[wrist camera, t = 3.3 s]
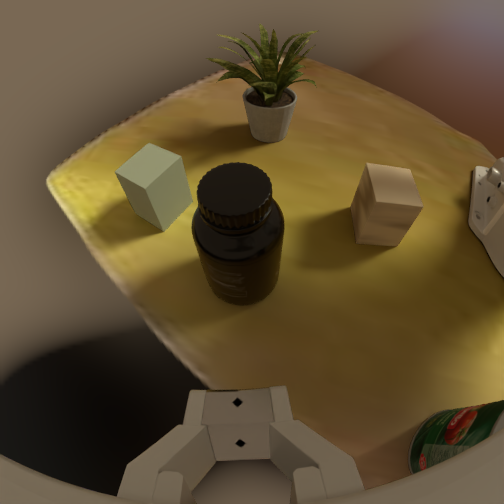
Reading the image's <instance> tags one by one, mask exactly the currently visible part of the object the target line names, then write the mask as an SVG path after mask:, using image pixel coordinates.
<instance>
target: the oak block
mask: <svg viewBox="0 0 504 504" xmlns="http://www.w3.org/2000/svg"><path fill="white" fill-rule="evenodd" d="M422 208H423V204H422V201H421V198H420V195H419V192H418V190H417V187H416V184H415V181H414V179H413V176H412V174H411V171H410V169H405V168H399V167H392V166H385V165H378V164H370V163H366V165H365V168H364V171H363V174H362V177H361V180H360V182H359V185H358V188H357V191H356V193H355V196H354V199H353V201H352V204H351V214H352V220H353V226H354V233H355V240H356V244H368V245H385V246H398V244H399V243H400V242H401V240H402V239H403V237H404V236H405V234H406V233H407V231H408V230H409V228H410V227H411V225H412V224H413V222H414V221H415V219H416V218H417V216H418V215H419V213H420V212H421V210H422Z"/></svg>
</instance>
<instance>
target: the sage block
mask: <svg viewBox="0 0 504 504" xmlns="http://www.w3.org/2000/svg"><path fill="white" fill-rule="evenodd" d="M115 173H116V176H117V178H118V180H119V182H120V184H121V186H122V188H123V190H124V192H125V194H126V196H127V198H128V200H129V202H130V204H131V206H132V208H133V210H134V211H135V213H136V214H137V215H139V216H140V217H142V218H143V219H145V220H146V221H148V222H150V223H151V224H153V225H154V226H156V227H157V228H159V229H160V230H162V231H163V232H164V231H165V230H166V229H167V228H168V227H169V226H170V225H171V224H172V223H173V222H174V221H175V220H176V219H177V218H178V217H179V216H180V215H181V213H182V212H183V211H184V210H185V209H186V208H187V207H188V206H189V205H190V204H191V203H192V202H193V199H192V196H191V192H190V188H189V184H188V180H187V177H186V173H185V169H184V165H183V161H182V157H181V156H179V155H177V154H175V153H172V152H170V151H168V150H165V149H163V148H160V147H158V146H155V145H153V144H151V143H148V144H147V145H146V146H144V147H143V148H142V149H141V150H139V151H138V152H137V153H136V154H135V155H133V156H132V157H131V158H130V159H129V160H128V161H126V162H125V163H124V164H123V165H122V166H121V167H120V168H118V169H117V170H116V171H115Z"/></svg>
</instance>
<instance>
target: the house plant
mask: <svg viewBox="0 0 504 504" xmlns="http://www.w3.org/2000/svg"><path fill="white" fill-rule="evenodd" d="M259 26H260V34H261V47H262V48H261V47H260V46H259V45H258V43H257V42H256V41H255V40H253V39H252V38H250V37H249V36H247V35H246V34H244V33H243V34H244V35H245V36H247V37H248V38H249V39H250V40H251V41H252V42H253V43H254V45H255V46H256V47H257V49H258V50H259V52H260V58H259V57H258V55H257V54H256V53H255V52H254V50H253V49H252V48H251V47H250V46H249V45H248V44H246V43H245V42H243V41H242V40H240V39H237V38H234V37H230V36H225V35H219V36H223V37H227V38H230V39H232V40H234V41H236V42H238V43H240V44H241V45H243V46H244V47H245V48H246V49H247V50H248V52H249V53H250V54H251V55H252V56H253V57H254V58H255V59H256V60H254V61H253V60H252V58H251V57H250V55H249V54H248V52H247V51H246V50H245V48H243V46H241V45H240V44H238V43H236V42H234V43H236V44H238V45H239V46H240V47H242V48H243V49H244V51H245V52H246V54H247V55H248V57H249V58H250V59H251V61H252V62H250V63H253V64H254V66H255V67H256V69H257V70H256V69H255V68H254V67H253V68H254V69H255V70H256V72H257V71H258V72H257V73H258V74H259V75H260V77H261V78H262V80H261V79H260V78H259V77H258V76H256V75H255V74H254V73H252V72H251V71H250V70H248V69H246V68H244V67H241V66H239V65H236V64H234V63H231V62H228V61H225V60H221V59H213V58H207V59H209V60H210V61H212V62H215V63H218V64H220V65H221V66H223V67H224V68H225V69H227V70H229V72H227V73H225V74H223V75H224V76H222V77H221V78H220V79H219V80H218V81H220V80H224V79H228V78H241V79H243V80H244V81H246V82H247V83H248V84H249V85H250V86H251V88H249V89H247V90H246V91H245V92H244V94H243V101H244V105H245V109H246V113H247V117H248V122H249V126H250V130H251V134H252V136H253V137H254V138H255V139H257V140H259V141H262V142H268V143H271V142H278V141H280V140H283V139H284V138H285V136H286V134H287V131H288V128H289V124H290V121H291V118H292V114H293V111H294V108H295V104H296V101H297V96H296V94H295V92H293V91H292V90H291V89H289V88H287V87H288V86H289V85H290V84H292V83H294V82H299V81H307V82H311V83H312V84H314V85H315V86H316V84H315V82H314V81H312V80H309V79H304V80H298V81H293V80H295V79H296V78H298V77H300V76H301V75H303V74H304V73H301V72H298V71H296V70H298V69H300V68H302V67H305V66H302V65H299V64H298V63H299V62H300V60H302V59H305V58H306V57H304V56H305V55H306V54H307V53H308V51H309V50H310V49H311V48H310V49H309V50H307V51H306V52H305V54H303V55H302V56H301V57H300V58H299V59H297V60H295V61H294V62H292V61H293V59H294V58H295V56H296V55H297V54H298V53H299V52H300V51H301V50H302V49H303V47H304V46H305V45H306V43H307V42H308V41H309V40H310V39H309V40H307V41H306V42H304V43H303V45H302V46H301V47H300V48H299V49H298V51H297V52H296V53H295V54H294V52H295V51H296V50H297V48H298V47H299V46H300V44H301V43H302V42H303V41H304V40H306V39H307V38H308V37H309V36H310V35H311V34H313V33H315V32H317V31H311V32H307V33H305V34H303V35H302V34H296V35H293V36H291V37H290V38H288V40H287V41H286V42H285V43H284V45H283V47H282V49H281V51H280V54H279V57H278V60H277V46H278V40H277V38H276V33H275V31H274V29H273V32H272V39H271V41H270V44H269V43H268V34H267V31H266V30H265V29H264V27H263V26H262V25H261V24H260V25H259ZM298 35H301V36H300V37H299V38H297V39H296V40H295V41H294V42H293V44H292V45H291V46H290V48H289V50H288V52H287V55H286V57H285V59H284V61H283V63H282V66H281V68H280V71H279V73H278V64H279V61H280V58H281V56H282V53H283V51H284V49H285V47H286V45H287V44H288V43H289V42H290V41H291V40H292V39H293V38H294V37H295V36H298ZM230 42H232V41H230ZM220 48H225V47H220ZM312 48H313V47H312ZM225 49H228V48H225ZM228 50H231V49H228ZM231 51H233V50H231ZM233 52H235V51H233ZM235 53H236V52H235ZM237 54H238V53H237ZM293 54H294V55H293ZM240 56H241V55H240ZM241 57H242V56H241ZM243 58H244V57H243ZM291 62H292V63H291ZM218 81H217V82H218ZM292 81H293V82H292ZM249 85H248V86H249ZM316 88H317V87H316Z"/></svg>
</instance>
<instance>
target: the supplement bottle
mask: <svg viewBox="0 0 504 504" xmlns="http://www.w3.org/2000/svg"><path fill="white" fill-rule="evenodd" d="M197 188H198V190H197V200H198V207H197V209H196V211H195V213H194V216H193V219H192V235H193V239H194V242H195V245H196V248H197V251H198V254H199V257H200V260H201V263H202V266H203V269H204V272H205V275H206V277H207V280H208V283H209V285H210V287H211V289H212V290H213V292H214V293H215V294H216V295H217V296H218V297H219V298H221V299H222V300H224V301H226V302H228V303H231V304H235V305H249V304H253V303H256V302H259V301H261V300H262V299H264V298H265V297H267V296H268V295H269V294H270V293H271V292H272V290H273V289H274V287H275V285H276V283H277V280H278V276H279V269H280V261H281V253H282V245H283V236H284V217H283V213H282V211H281V209H280V207H279V205H278V204H277V202H276V201H275V200H274V199H273V198H272V184H271V182H270V178H269V177H268V176H267V174H266V173H264V172H263V170H261V169H259V168H258V167H256V166H253V165H251V164H246V163H239V162H237V163H229V164H223V165H220V166H217V167H216V168H213V169H211V171H208V172H207V173H206V175H204V176H203V177H202V179H201V180H200V182H199V185H198V187H197Z"/></svg>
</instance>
